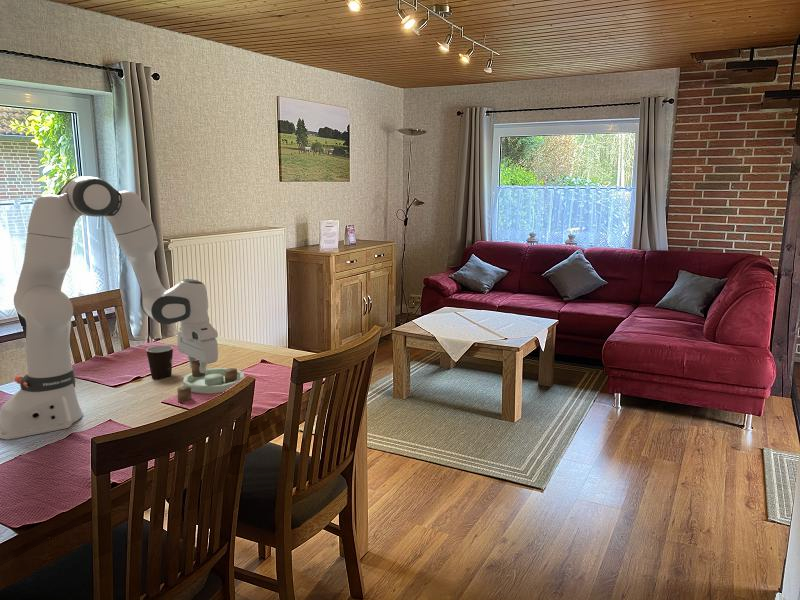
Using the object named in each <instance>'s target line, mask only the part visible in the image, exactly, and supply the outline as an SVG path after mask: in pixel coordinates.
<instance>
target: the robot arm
mask: <svg viewBox="0 0 800 600" xmlns="http://www.w3.org/2000/svg"><path fill="white" fill-rule="evenodd" d="M82 216H86V217H95V218H96V217H104V218H105V219H106V220H107V221H108V222H109V224H110V226H111V229H112V231H113V234H114V237H115V239H116V241H117V242H118V245H119V247H120V248H121V250H122V252H123V254H124V255H125V257H126V259H127V260H128V261H129V262H130V264H131V267H132V269H133V273H134V275H135V278H136V280H137V283H138V285H139V286H138V287H139V288H140V290H139V291H140V300H139V302H140V304H139V305H140V308H141V312H143V314H145V316H147V317H149V318H151V319H152V320H153V321H155V322H156V323H159V324H161V325H172V324H175V323H179V322H180V327H179V331H178V332H177V341H176V342H177V350H178V352H180V353H182V354H183V355H186V356H187V359H188V362H189V364H190V365H189V366H190V369H192V364H191V362H192V361H195V360H199V363H200V367H198V369H199V372H200V373H205V372H206V369H207V365H209V364H213V363H216V362H217V361H218V359H219V347H218V341H217V338H218V336H219V333H218V330H216V329H215V328H214V327H213V325H212V324H211V323H210V318H209V314H208V309H209V298H208V292H207V288H206V284H205V283H203V282H202V281H200V280H198V279H197V280H196V279H187V278H185V279H184V278H183V279H180V280H179V281H178V282H177V283H176V284H174V285H173V286H172V287H171V288H169V289H167V288H166V287H164V286H163V284H162V282H161V279H160V277H159V274H158V272H157V268H156V266H155V263H154V254H155V251H156V250H157V248H158V245H159V242H158V236H157V232H156V229H155V225H154V223H153V220H152V218H151V216H150V214H149V211H148V210H147V208H146V206H145V204H144V202H143V201H142V200H141V197H140V196H139V195H138V194H137V193H135V192H133V191H130V190H121V191H118V190H117V189H116V188H114V187H113V186H112V185H111V184H110V183H109V182H108V181H106V180H105V179H103V178H100V177H96V176H93V175H81V176H75V177H73V178H71V179H69V180H67V182H66V183H64V185H63V186H62V188H60V190H59V191H58V192H57V193H56V194H43V195H41V196H38V197H37V198H36V199H35V201H34V203H33V205H32V209H31V211H30V216H29V220H28V225H27V234H26V240H25V250H24V259H23V264H22V268H21V271H20V274H19V276H18V277H19V278H18V282H17V286H16V290H15V293H14V294H13V305H14V308H15V310H16V312H17V314H18V315H20V316H21V317H22V318H23V319H24V320H25V324H26V326H25V327H26V330H25V331H26V332H25V344H24V348H23V349H24V357H25V366H26V373H27V374H26V375H24V376H22V375H16V376H15V377H14V380H13V381H14V382H15V383H16V384H18V385H19V386H20V389H19V390H18V391H17V392H15V394H14V395H13V396H12V397H10V398H9V399H8V400H6V401H5V402H4V403H3V404H2V405H1V408H0V439H1V440H15V439H18V438H24V437H28V436H33V435H40V434H43V433H48V432H49V433H50V432H53V431H59V430H64V429H67V428H70V427H71V426H72V425H73V424H74V423H76V422H77V421H79V420H80V419H81V418H82V417H83V416H84V413H83V411H82V408H81V407H80V404H79V400H78V397H77V394H76V393H77V392H76V389H75V388H76V374H75V371H74V368H73V367H72V358H71V346H70V345H71V344H70V340H71V337H70V335H71V329H72V328H71V327H72V318H73V316H74V307H73V303H72V301H71V300H70V297H68V295H67V294H66V293H64V292H63V291H62V286H63V283H64V279H65V278H66V275H67V272H68V270H69V269H70V266H71V258H72V249H73V242H74V241H73V240H74V233H75V232H74V228H75V226H76V222H77V221H78V220H79V218H81V217H82Z"/></svg>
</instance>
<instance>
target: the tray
mask: <svg viewBox="0 0 800 600" xmlns="http://www.w3.org/2000/svg"><path fill="white" fill-rule="evenodd" d="M225 369H229V368H227V367H217V368H215V367H213V368H206V372H205V376H202V377H193V376H192V372H190V373H189V374H187V375H185V376H184V377H183V382H182V385H183V386H190V387H191V393H196V394H217V393H223V392H224V391H225V392H227V391H226V390H227V389H229V388H230V387H232V386H233V385H235V384H236V383H238V382H239V381H240V380H241V379H243V378H244V379H245V373H244V371H241V370H238V369H237V380H235V381H234V382H230V383H226V384H225Z"/></svg>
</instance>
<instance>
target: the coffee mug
mask: <svg viewBox="0 0 800 600" xmlns="http://www.w3.org/2000/svg"><path fill="white" fill-rule="evenodd" d="M145 351H146V356H147V359H148V360H147V361H148V366H149V370H150V375H151V379H153V380H163V379H167V378H171V377H172V372H173V371H172V370H173V369H172V368H173V354H174V352H173V351H174V347H173V346H172V345H167V344H163V345H162V344H160V345H154V346H150V347H147V348H146V350H145Z"/></svg>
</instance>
